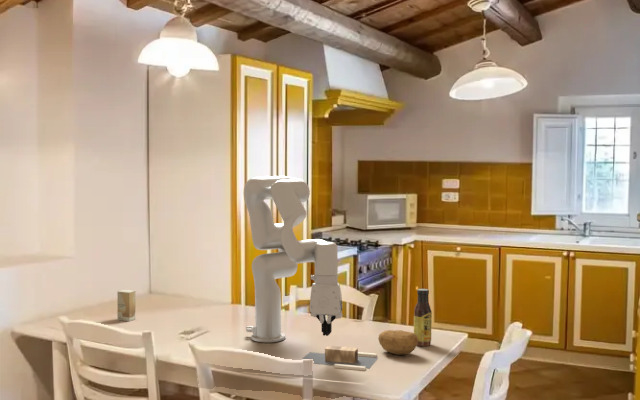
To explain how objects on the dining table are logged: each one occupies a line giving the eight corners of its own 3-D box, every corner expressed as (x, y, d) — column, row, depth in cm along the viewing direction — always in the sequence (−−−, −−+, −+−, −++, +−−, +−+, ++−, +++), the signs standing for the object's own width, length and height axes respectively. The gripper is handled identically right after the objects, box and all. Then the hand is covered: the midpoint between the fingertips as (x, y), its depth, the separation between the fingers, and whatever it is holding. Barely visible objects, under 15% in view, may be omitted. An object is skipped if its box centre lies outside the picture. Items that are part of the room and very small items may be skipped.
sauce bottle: (427, 348, 247) (427, 292, 245) (410, 345, 250) (410, 290, 249) (434, 343, 252) (434, 288, 251) (418, 341, 256) (418, 287, 254)
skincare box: (117, 320, 292) (116, 291, 291) (123, 318, 296) (123, 289, 295) (129, 321, 289) (129, 292, 288) (136, 319, 293) (135, 290, 292)
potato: (385, 347, 248) (385, 325, 247) (422, 353, 240) (422, 330, 240) (372, 354, 239) (372, 331, 239) (410, 360, 232) (411, 336, 231)
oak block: (324, 348, 231) (355, 351, 228) (328, 345, 235) (358, 348, 231) (325, 360, 231) (355, 363, 228) (328, 357, 235) (358, 359, 232)
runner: (295, 365, 228) (295, 361, 228) (311, 351, 243) (311, 348, 243) (367, 371, 220) (367, 368, 220) (379, 357, 236) (379, 353, 236)
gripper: (300, 280, 230) (301, 335, 231) (344, 282, 225) (345, 339, 226) (308, 276, 237) (308, 330, 238) (351, 278, 232) (351, 333, 234)
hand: (326, 334), depth 232 cm, fingers closed
